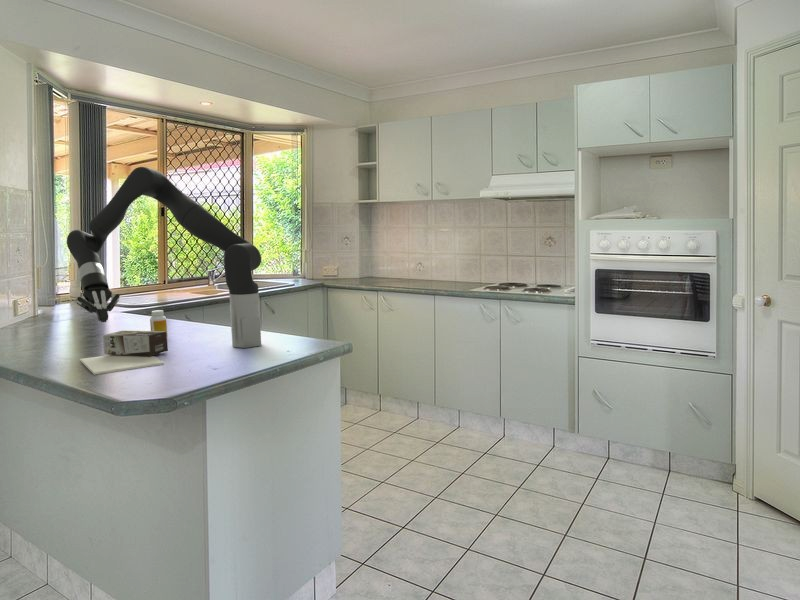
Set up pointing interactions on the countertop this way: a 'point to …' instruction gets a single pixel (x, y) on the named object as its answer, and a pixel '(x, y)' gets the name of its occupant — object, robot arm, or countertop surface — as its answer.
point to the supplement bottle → (158, 321)
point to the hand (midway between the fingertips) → (104, 320)
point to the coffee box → (135, 343)
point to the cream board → (118, 363)
